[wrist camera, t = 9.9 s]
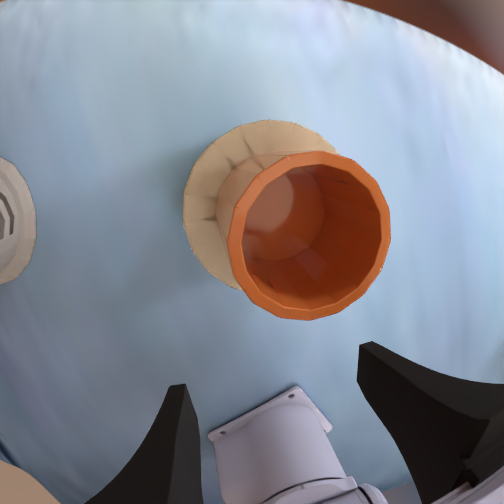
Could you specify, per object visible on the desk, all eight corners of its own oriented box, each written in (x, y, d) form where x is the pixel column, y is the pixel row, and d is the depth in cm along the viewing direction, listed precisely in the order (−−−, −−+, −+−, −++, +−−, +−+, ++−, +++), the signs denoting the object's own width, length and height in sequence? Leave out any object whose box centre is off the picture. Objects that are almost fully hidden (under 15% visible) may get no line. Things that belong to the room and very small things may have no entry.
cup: (255, 284, 15) (286, 348, 10) (192, 194, 14) (191, 218, 9) (344, 225, 15) (410, 259, 10) (291, 131, 14) (346, 120, 8)
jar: (233, 280, 22) (247, 324, 16) (160, 178, 19) (146, 187, 13) (333, 212, 22) (379, 234, 16) (271, 107, 19) (302, 89, 13)
